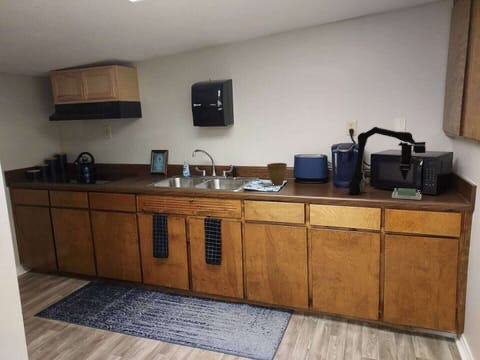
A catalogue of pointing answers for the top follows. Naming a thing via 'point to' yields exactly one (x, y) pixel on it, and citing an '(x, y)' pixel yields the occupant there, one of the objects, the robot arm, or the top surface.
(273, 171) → the plant pot
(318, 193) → the top surface
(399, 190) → the circuit board
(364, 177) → the mechanical component
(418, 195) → the chassis plate
